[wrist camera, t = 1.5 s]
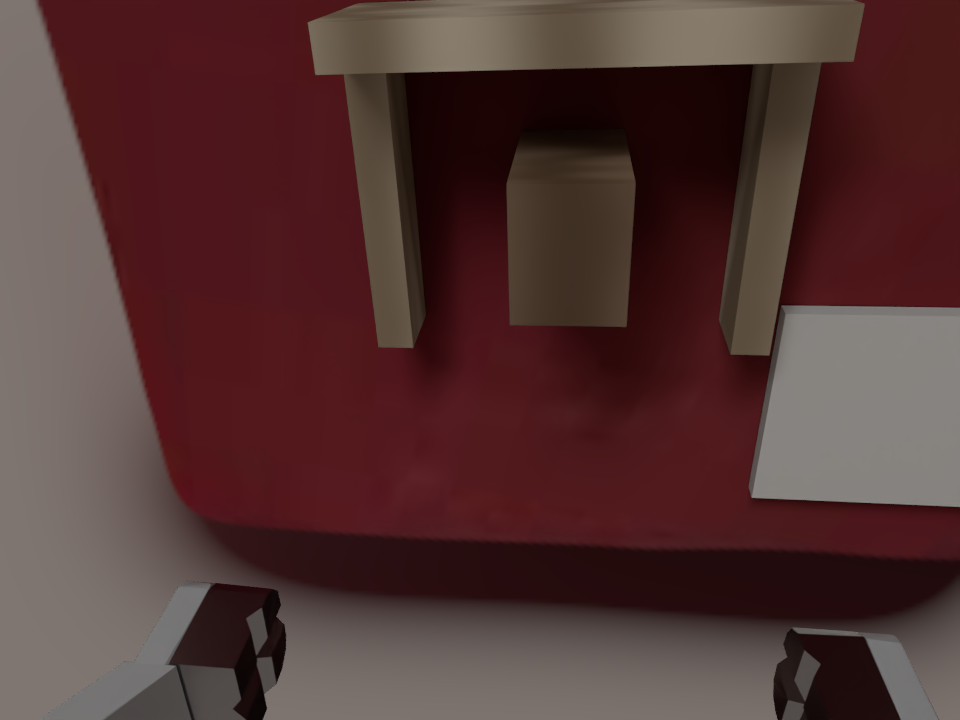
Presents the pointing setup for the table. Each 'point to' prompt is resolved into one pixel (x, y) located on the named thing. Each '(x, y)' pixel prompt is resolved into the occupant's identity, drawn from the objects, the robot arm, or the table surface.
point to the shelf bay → (586, 44)
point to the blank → (570, 228)
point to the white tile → (862, 407)
